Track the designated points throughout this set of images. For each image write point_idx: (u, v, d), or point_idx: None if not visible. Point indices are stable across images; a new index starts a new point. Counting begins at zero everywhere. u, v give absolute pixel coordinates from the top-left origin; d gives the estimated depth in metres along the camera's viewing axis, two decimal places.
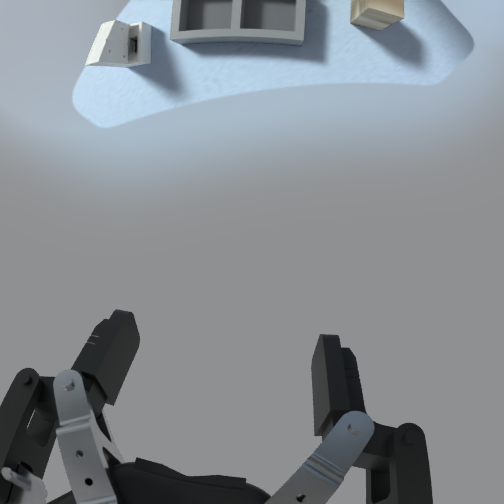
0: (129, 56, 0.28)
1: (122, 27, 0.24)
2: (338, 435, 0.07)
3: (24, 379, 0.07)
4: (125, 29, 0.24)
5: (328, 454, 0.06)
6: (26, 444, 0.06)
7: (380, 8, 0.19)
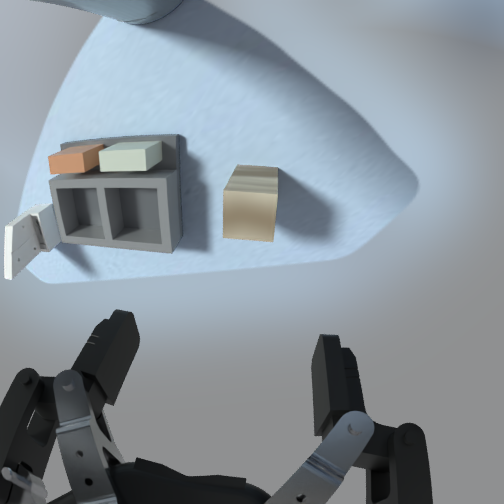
0: (42, 238, 0.33)
1: (23, 224, 0.28)
2: (338, 435, 0.07)
3: (24, 379, 0.07)
4: (27, 222, 0.29)
5: (328, 454, 0.06)
6: (26, 444, 0.06)
7: (239, 235, 0.23)
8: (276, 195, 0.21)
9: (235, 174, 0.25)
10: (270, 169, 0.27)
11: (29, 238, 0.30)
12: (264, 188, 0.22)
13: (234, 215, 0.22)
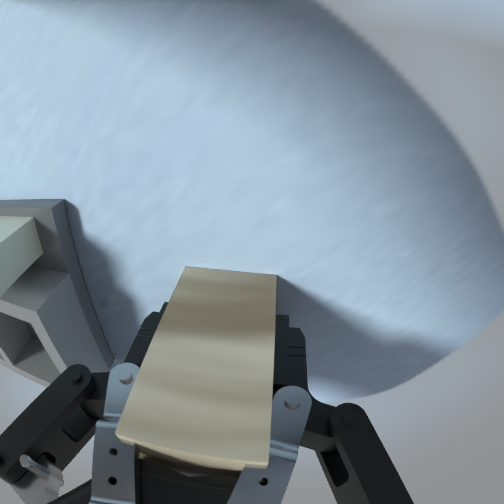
0: None
1: None
2: (272, 407, 0.08)
3: (74, 375, 0.08)
4: None
5: (274, 433, 0.07)
6: (57, 438, 0.06)
7: None
8: (264, 463, 0.06)
9: (167, 324, 0.10)
10: (258, 288, 0.12)
11: None
12: (229, 424, 0.07)
13: (159, 463, 0.07)
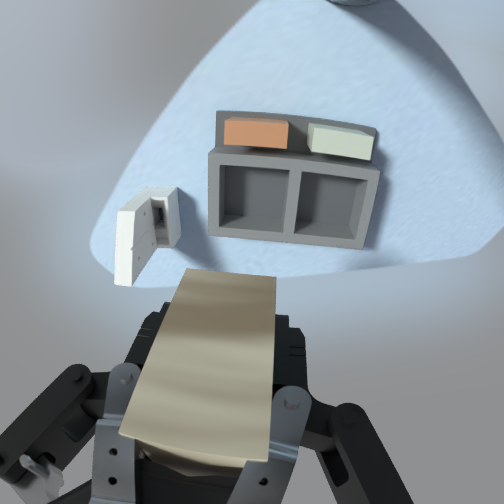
0: (156, 231, 0.31)
1: (144, 210, 0.26)
2: (272, 407, 0.08)
3: (74, 376, 0.08)
4: (148, 208, 0.27)
5: (274, 433, 0.07)
6: (57, 438, 0.06)
7: None
8: (264, 460, 0.06)
9: (168, 325, 0.10)
10: (258, 290, 0.12)
11: (148, 230, 0.28)
12: (230, 423, 0.07)
13: (161, 461, 0.07)
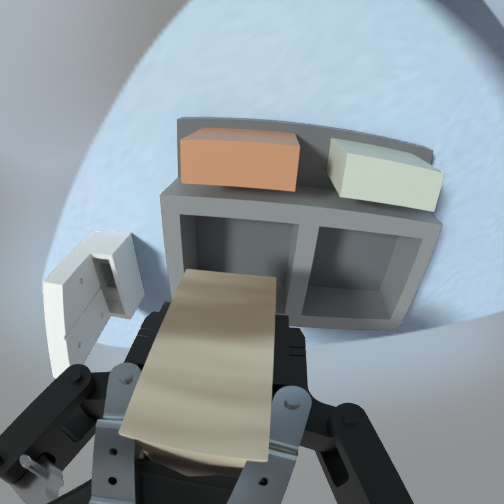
0: (109, 291, 0.21)
1: (81, 276, 0.16)
2: (272, 407, 0.08)
3: (74, 376, 0.08)
4: (87, 271, 0.17)
5: (274, 433, 0.07)
6: (57, 438, 0.06)
7: None
8: None
9: (168, 326, 0.10)
10: (258, 290, 0.12)
11: (92, 299, 0.18)
12: (230, 423, 0.07)
13: (161, 461, 0.07)
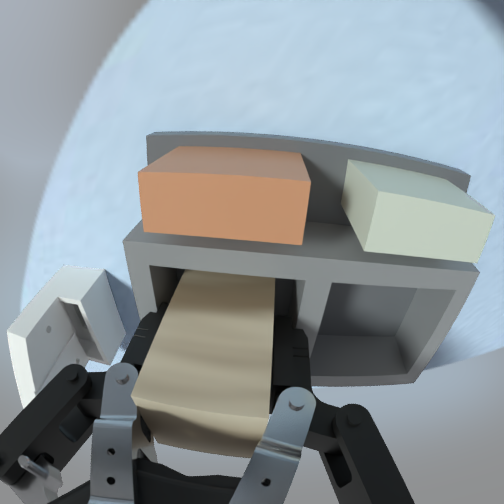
0: (86, 332, 0.17)
1: (48, 325, 0.13)
2: (277, 408, 0.08)
3: (71, 375, 0.08)
4: (55, 317, 0.14)
5: (277, 434, 0.07)
6: (54, 438, 0.06)
7: (187, 447, 0.09)
8: (265, 419, 0.07)
9: (177, 302, 0.11)
10: None
11: (64, 346, 0.14)
12: (234, 385, 0.08)
13: (168, 428, 0.08)
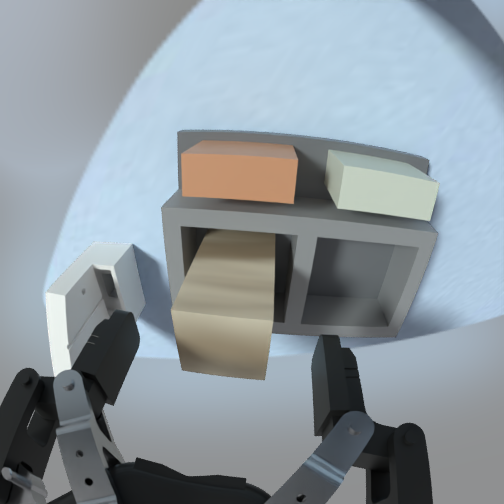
0: (111, 302, 0.21)
1: (83, 287, 0.17)
2: (338, 435, 0.07)
3: (24, 379, 0.07)
4: (89, 282, 0.17)
5: (328, 454, 0.06)
6: (26, 444, 0.06)
7: (207, 370, 0.13)
8: (270, 322, 0.11)
9: (201, 254, 0.15)
10: (263, 235, 0.17)
11: (94, 309, 0.18)
12: (247, 301, 0.12)
13: (195, 346, 0.12)
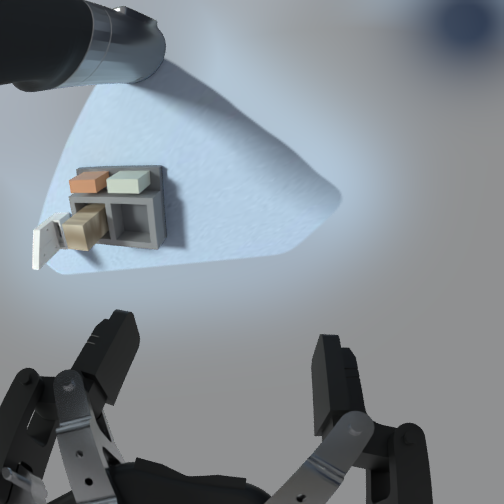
0: (61, 239, 0.45)
1: (47, 228, 0.40)
2: (338, 435, 0.07)
3: (24, 379, 0.07)
4: (50, 227, 0.41)
5: (328, 454, 0.06)
6: (26, 444, 0.06)
7: (73, 247, 0.36)
8: (82, 226, 0.34)
9: (79, 211, 0.38)
10: (102, 205, 0.40)
11: (51, 239, 0.42)
12: (80, 221, 0.35)
13: (69, 237, 0.35)
